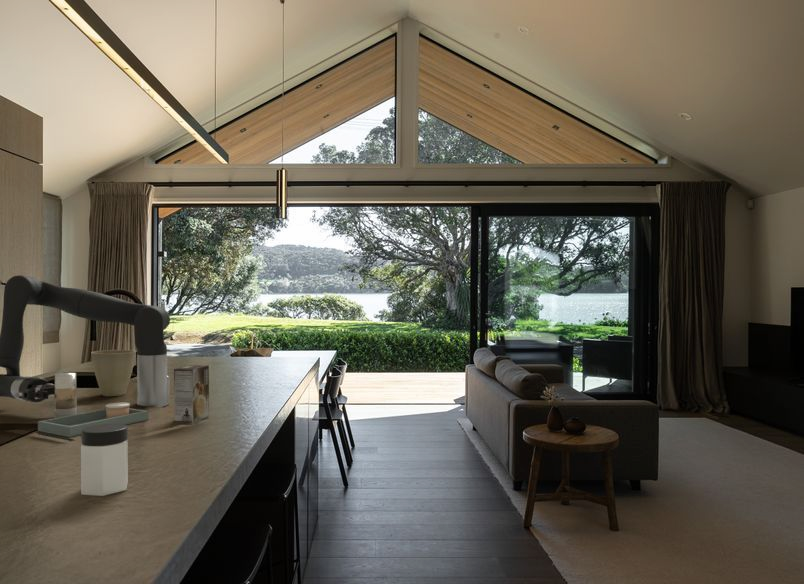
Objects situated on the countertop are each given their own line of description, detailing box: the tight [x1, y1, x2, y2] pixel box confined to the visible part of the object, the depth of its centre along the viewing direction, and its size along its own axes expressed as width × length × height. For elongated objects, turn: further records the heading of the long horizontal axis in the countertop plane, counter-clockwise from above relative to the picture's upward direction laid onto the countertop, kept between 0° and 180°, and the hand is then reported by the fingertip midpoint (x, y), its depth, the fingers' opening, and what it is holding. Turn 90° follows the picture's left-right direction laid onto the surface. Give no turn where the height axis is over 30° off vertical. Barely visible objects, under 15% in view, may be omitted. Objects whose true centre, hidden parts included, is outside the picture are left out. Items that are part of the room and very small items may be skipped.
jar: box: [80, 424, 129, 497], centre depth 121 cm, size 9×8×12 cm
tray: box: [37, 407, 150, 442], centre depth 174 cm, size 24×14×4 cm, turn 150°
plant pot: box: [90, 349, 137, 397], centre depth 229 cm, size 15×15×16 cm
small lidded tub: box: [105, 401, 131, 419], centre depth 180 cm, size 6×6×5 cm
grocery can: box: [54, 371, 78, 418], centre depth 184 cm, size 6×6×14 cm
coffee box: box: [173, 364, 210, 426], centre depth 183 cm, size 9×6×16 cm
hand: (61, 393), depth 185 cm, fingers open, 8 cm apart
